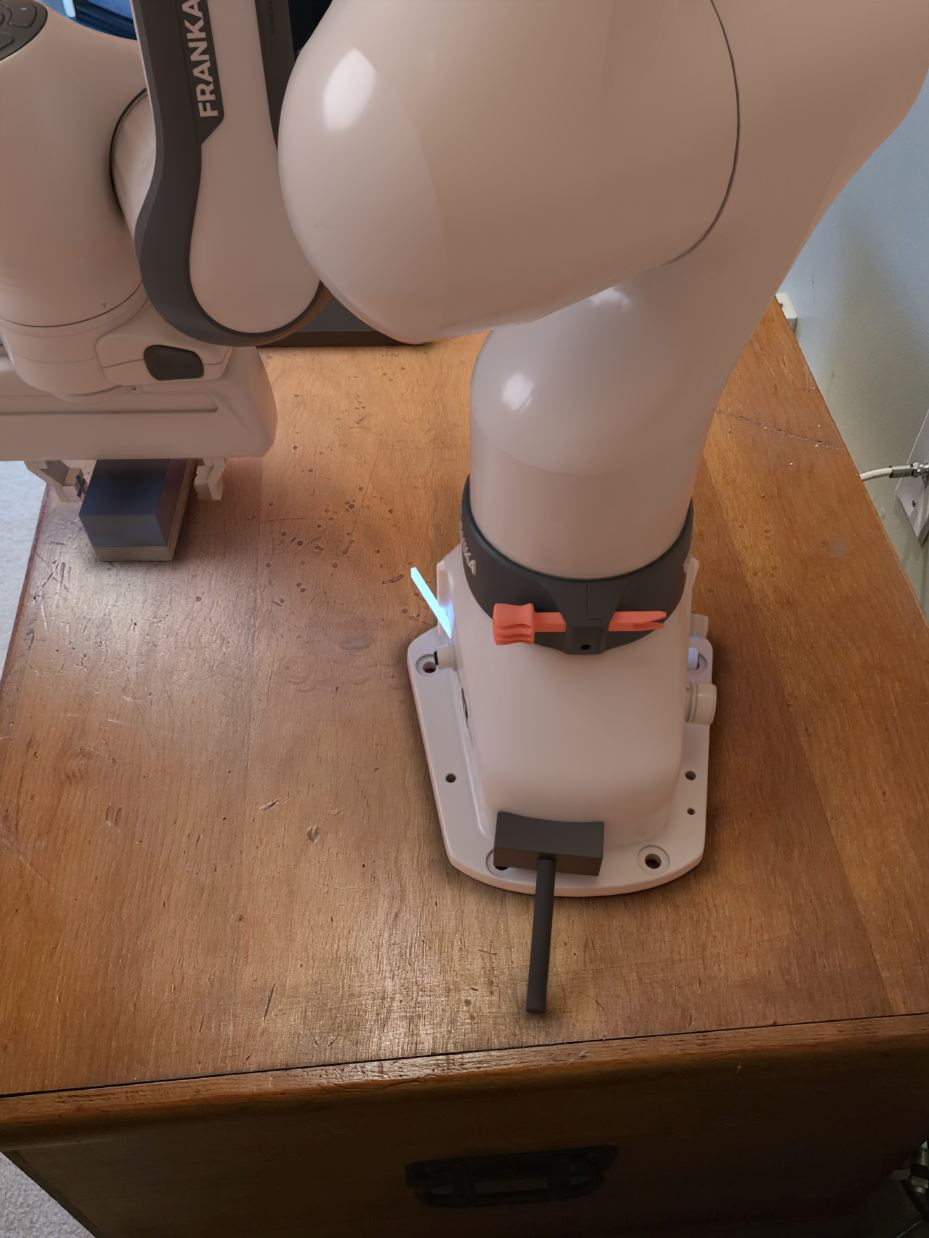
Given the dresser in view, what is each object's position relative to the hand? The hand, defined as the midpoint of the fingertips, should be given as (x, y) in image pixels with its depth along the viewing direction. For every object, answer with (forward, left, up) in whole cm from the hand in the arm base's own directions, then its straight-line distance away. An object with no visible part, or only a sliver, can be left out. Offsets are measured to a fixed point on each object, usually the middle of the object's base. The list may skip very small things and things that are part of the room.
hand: (143, 494), depth 68 cm
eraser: (0, 0, -2) cm, 2 cm away
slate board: (+24, -8, -2) cm, 26 cm away
